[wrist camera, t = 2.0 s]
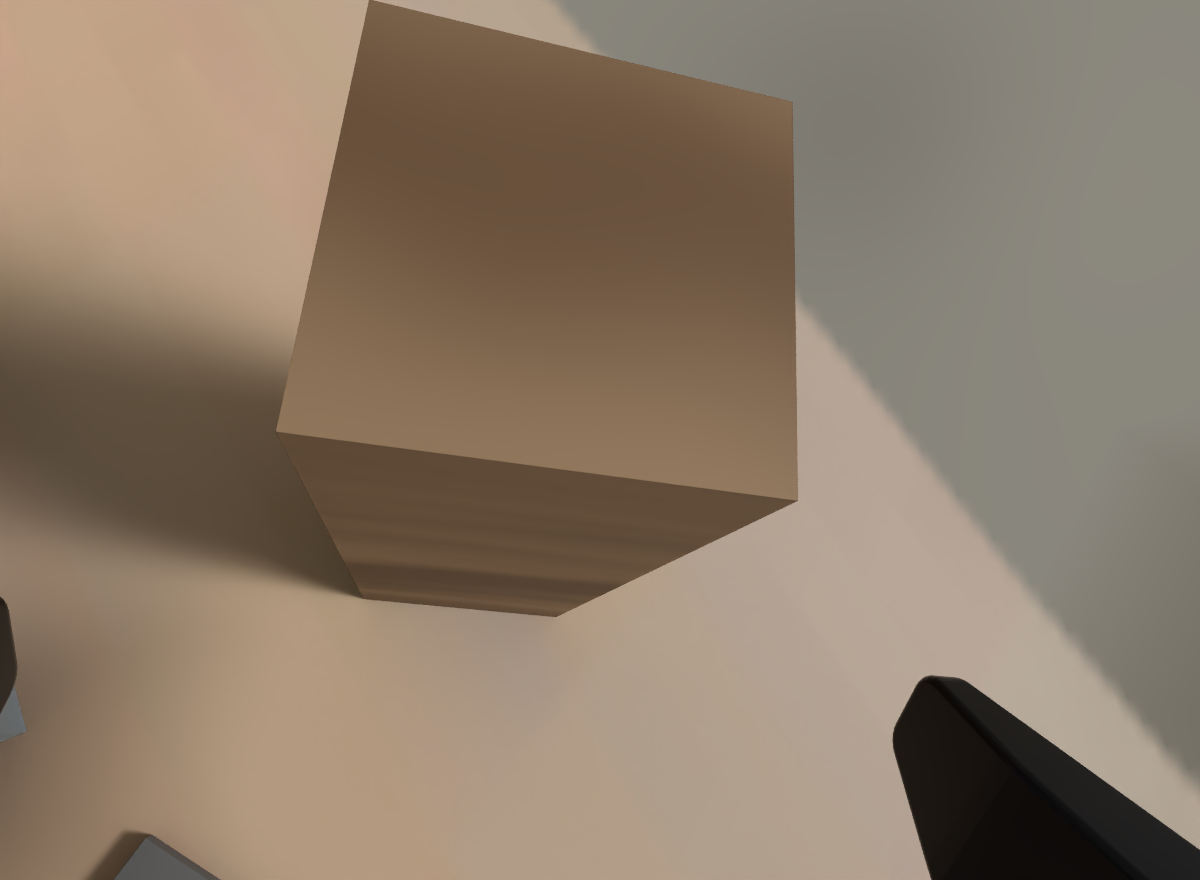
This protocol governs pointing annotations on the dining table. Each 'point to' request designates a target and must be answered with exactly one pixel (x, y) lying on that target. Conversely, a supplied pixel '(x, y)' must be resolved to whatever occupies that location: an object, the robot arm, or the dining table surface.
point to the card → (161, 864)
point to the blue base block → (11, 718)
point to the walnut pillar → (542, 319)
